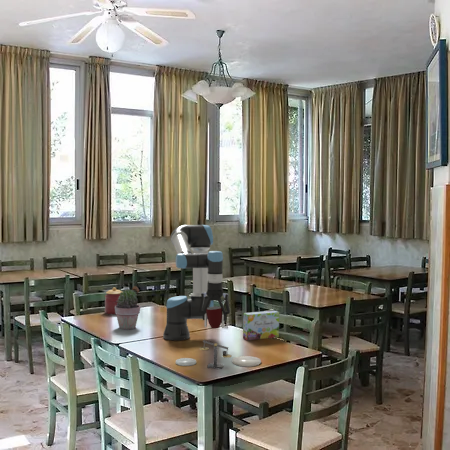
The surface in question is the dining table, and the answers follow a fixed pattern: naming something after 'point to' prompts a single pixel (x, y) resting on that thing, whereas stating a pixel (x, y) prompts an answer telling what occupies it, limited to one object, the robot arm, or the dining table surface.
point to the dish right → (246, 361)
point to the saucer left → (185, 361)
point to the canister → (111, 300)
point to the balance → (215, 365)
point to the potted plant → (127, 309)
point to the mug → (214, 316)
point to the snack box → (260, 325)
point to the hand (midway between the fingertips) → (214, 326)
